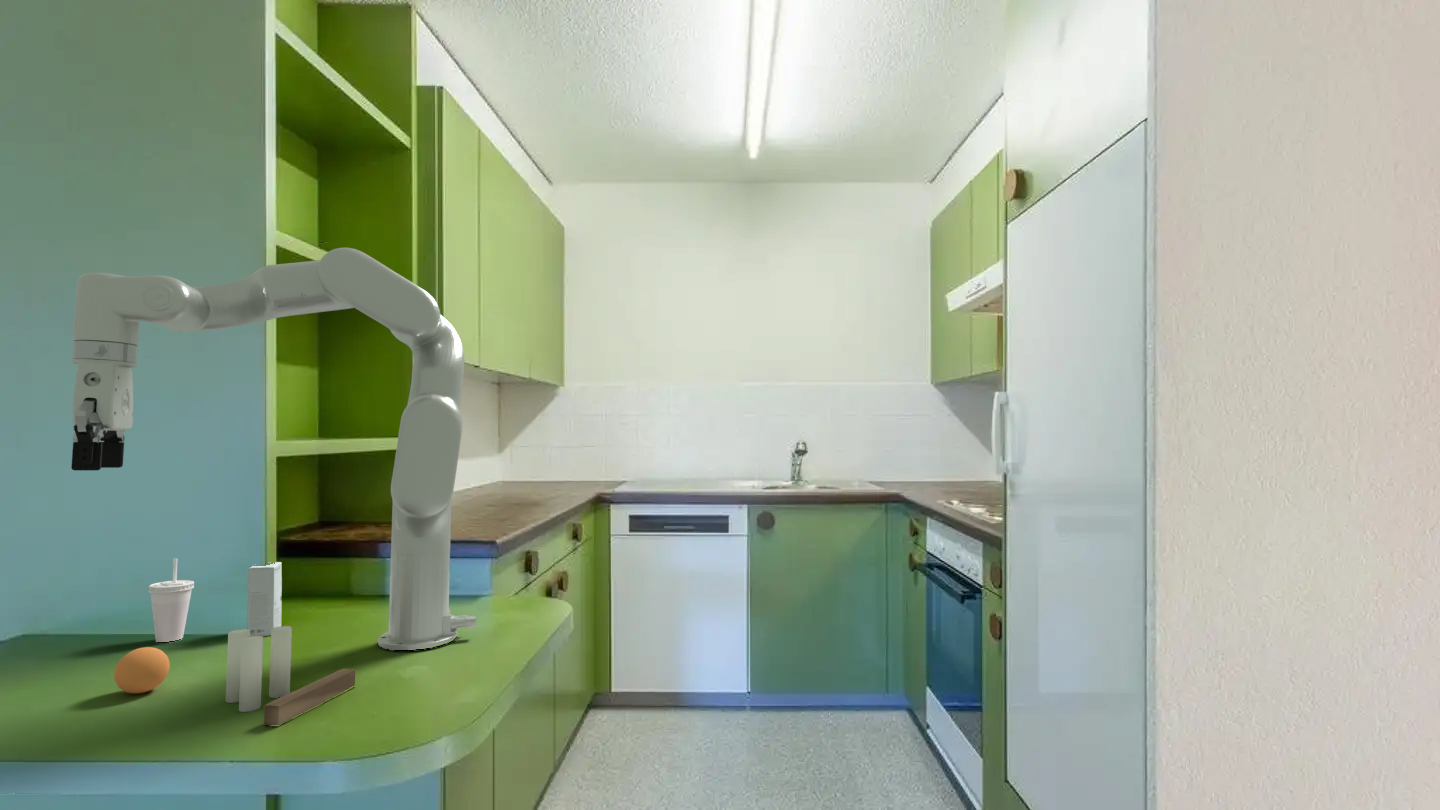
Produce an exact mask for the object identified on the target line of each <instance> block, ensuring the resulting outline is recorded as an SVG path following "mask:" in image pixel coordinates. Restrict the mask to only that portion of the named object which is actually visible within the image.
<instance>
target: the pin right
mask: <svg viewBox="0 0 1440 810" xmlns="http://www.w3.org/2000/svg"><path fill="white" fill-rule="evenodd" d="M292 631H293V627H292V626H289V625H283V626H282V625H281V626H280V627H275V628H273V629H271V635H270V658H269V659H270V661H269V686H268V688H269V691H268V697H269V698H270V699H279V697H280V698H281V697H283V696H285V695H287V694H289V693H291V691H290V690H291V662H292V639H293V638H292V633H293V632H292Z"/></svg>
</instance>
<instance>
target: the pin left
mask: <svg viewBox="0 0 1440 810" xmlns="http://www.w3.org/2000/svg"><path fill="white" fill-rule="evenodd" d="M263 652H264V636H250V637H245V638H243V639H241V663H240V690H239V702H238V712H241V713H247V712H253V711H257V710H259V709H260V708H261V707H262V687H263V685H262V683H263V682H262V681H263V655H264V654H263Z"/></svg>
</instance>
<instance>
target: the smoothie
mask: <svg viewBox="0 0 1440 810" xmlns="http://www.w3.org/2000/svg"><path fill="white" fill-rule="evenodd" d="M172 563H173V564H172V580H166V581H160V582H155V583H152V584H149V585H148V590H147V592H148V593H150V600H151V601H150V602H151V609H152V610H151V611H152V618H153V628H154V637H155V642H156V643H157V642H169V641H175V640H179V639H181V640H183V639H184V633H185V628H186V623H187V618H188V612H189V608H190V602H191V595H192V590H193V589H194V588H195V581H193V580H190V579H177V577H178V576H177V575H178V558H177V557H175V558H173V560H172ZM182 638H183V639H182ZM179 641H180V640H179ZM175 642H176V641H175ZM169 643H170V642H169Z"/></svg>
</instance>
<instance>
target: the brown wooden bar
mask: <svg viewBox="0 0 1440 810" xmlns="http://www.w3.org/2000/svg"><path fill="white" fill-rule="evenodd" d="M354 685H355V686H356V669H353V668H342V669H339V670H336V671H334V672H332V673H330V674H328V675H326V676H324V677H322V678H320V679H317V680H315V681H313V682H311V683H309V684H306V685H304V686H302V687H301V688H298V689H296V690H294V691H292V692H291V691H290V693H289V694H287V695H285V696H283V697H280V698H275V699H274V700H272V701H270V702H268V703H265V704H264V706H263V707H264V709H263V711H264V712H263V726H264V725H280V724H282V723H284V722H286V721H288V720H290V719H292V718H293V717H295V716H297V715H299V714H301V713H304V712H305V711H307V710H309V709H311V708H313V707H315V706H317V705H319V704H321V703H323V702H325V701H326V700H328V699H330V698H332V697H334V696H336V695H338V694H340V693H342V692H344V691H345V690H347V689H349V688H350V687H352V686H354ZM304 714H305V713H304Z"/></svg>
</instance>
